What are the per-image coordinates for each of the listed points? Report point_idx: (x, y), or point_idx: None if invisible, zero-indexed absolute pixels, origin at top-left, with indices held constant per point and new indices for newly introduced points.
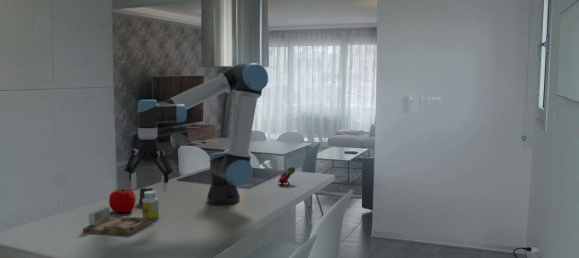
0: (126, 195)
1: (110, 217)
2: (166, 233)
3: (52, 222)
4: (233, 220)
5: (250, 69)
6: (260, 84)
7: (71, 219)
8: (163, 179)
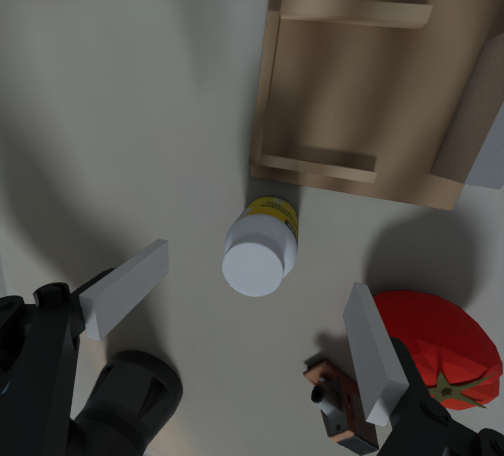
0: (407, 341)
1: (432, 203)
2: (154, 55)
3: None
4: (41, 218)
5: None
6: None
7: None
8: (105, 277)
